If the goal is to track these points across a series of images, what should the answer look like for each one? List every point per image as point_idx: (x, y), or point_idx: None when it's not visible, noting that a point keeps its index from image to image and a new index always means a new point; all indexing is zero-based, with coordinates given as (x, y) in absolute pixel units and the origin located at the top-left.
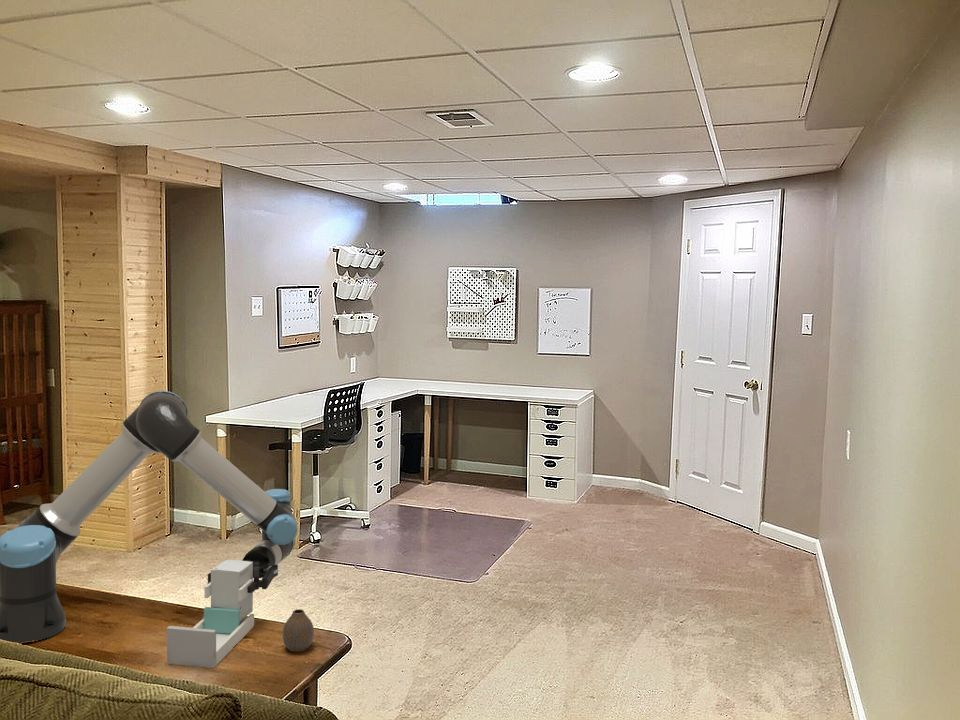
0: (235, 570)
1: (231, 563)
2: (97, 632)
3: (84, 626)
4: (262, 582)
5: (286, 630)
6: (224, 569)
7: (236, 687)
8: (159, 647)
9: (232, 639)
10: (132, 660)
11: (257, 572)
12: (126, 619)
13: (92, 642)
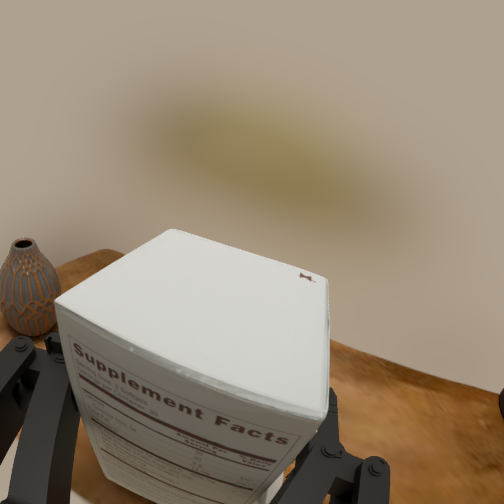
0: (190, 237)
1: (234, 309)
2: (473, 435)
3: (501, 446)
4: (38, 352)
5: (56, 274)
6: (253, 257)
7: None
8: (338, 395)
9: None
10: (354, 358)
11: (27, 450)
12: (475, 489)
13: (452, 406)
